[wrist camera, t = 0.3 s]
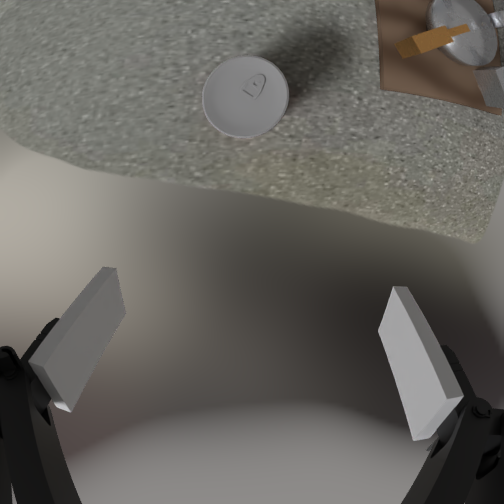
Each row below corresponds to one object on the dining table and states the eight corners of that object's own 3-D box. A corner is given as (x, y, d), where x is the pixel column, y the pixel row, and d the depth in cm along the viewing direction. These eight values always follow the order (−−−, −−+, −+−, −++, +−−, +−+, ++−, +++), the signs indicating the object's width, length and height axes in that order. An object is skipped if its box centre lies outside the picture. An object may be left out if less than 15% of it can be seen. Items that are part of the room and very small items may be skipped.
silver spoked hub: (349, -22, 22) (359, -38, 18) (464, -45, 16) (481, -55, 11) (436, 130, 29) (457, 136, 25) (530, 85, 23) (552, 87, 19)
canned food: (294, 81, 33) (302, 71, 23) (270, 139, 36) (269, 151, 26) (234, 60, 32) (219, 43, 22) (212, 118, 35) (189, 124, 26)
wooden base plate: (369, -40, 23) (377, -52, 19) (486, -2, 21) (500, -6, 18) (380, 89, 32) (391, 88, 28) (495, 114, 30) (511, 117, 27)
